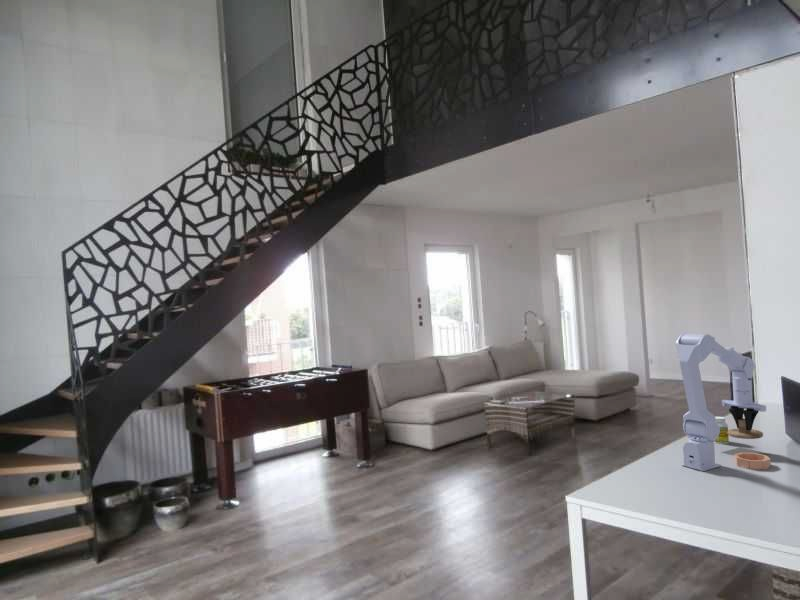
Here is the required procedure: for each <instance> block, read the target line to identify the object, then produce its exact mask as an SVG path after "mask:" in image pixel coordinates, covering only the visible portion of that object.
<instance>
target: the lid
mask: <svg viewBox="0 0 800 600" xmlns="http://www.w3.org/2000/svg"><path fill="white" fill-rule="evenodd" d="M738 424H739V429H738V428H732V429H728V437H729V436H730V437H732V438H735V439H743V440H755V439H760V438H761V439H762V438H763V437H764V433H763V431H761V430H757V429H753V428H752V430H746V423H745V417H744V418H742V419H738Z"/></svg>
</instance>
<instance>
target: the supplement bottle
mask: <svg viewBox="0 0 800 600" xmlns="http://www.w3.org/2000/svg"><path fill="white" fill-rule="evenodd" d="M715 418H716V422H717V423H718V425H719V428H720V433H719V436H718V437H717V439H716V440H714V444H721V445H725V444H726V445H727V444H729V442H730V440H729V435H728V431H729V425H728V423H726V417H724V416H715Z"/></svg>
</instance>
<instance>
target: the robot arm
mask: <svg viewBox="0 0 800 600" xmlns="http://www.w3.org/2000/svg"><path fill="white" fill-rule="evenodd" d="M675 345H676V349H677V351H676V352H677V354H678V359H679V365H680V366H679V367H680V371H681V375H682V381H683V387H684V391H685V397H686V401H687V406H688V411H687V412H686V413H685V414H683V416H682V418H683V419H682V420H683V423H682V429H683V432H684V434H686V438H687V439H688V441H687V442H685V443H684V445H683V448H682V449H683V450H682V451H683V463H681V466H684V467H687V468H691V469H694V470H698V471H700V472H701V471H702V472H705V471H708V470H712V469H715V468H719V467H721V466H722V464H720V463H717V462H716V453H715V452H716V451H715V443H714V440H716V439H717V437H718V436H719V433H720V428H719V425H718V423H717V422H716V418H715V417H716V416H715V415H714V414H713V413H712V412H710V410H708V407H707V403H706V401H707V400H706V397H705V391H704V386H703V382H702V375H701V372H700V370H701V369H700V363H702V362H704V361H705V360H706V359H707V358H708V357H709V356H710V355H711V354H713V355H715V356H717V360H718V361H719V362H720V363H721V364H724V365H725V366H727V369H728V370H729V372H731V373H732V375H731V376H732V392H733V393H732V395H733V400H730V399H722V400H721V406H722V407H730V408H728V412H729V413H730V414H731V415H732V416H731V417H733V420H734V422H735V426H736V429H739V424H738V419H742V418H743V417H744V419H745V423H746V430H752V429H753V425H754V422H755V419H756V417H757V416H758V414H759V412H761V413H762V412H767V405H764V404H760V403H756V402H754V401H753V384H752V383H753V382H752V381H753V377H754V371H755V367H756V364H755V362H754V360H753V359H752V358H751V357H749V356H744V355H742V353H741V352H738V351H736V350H735V349H734V347H732V346H726V347H724V346H723V345H721V344H720V343H719V342H717V341H716V339H715V336H712V335H711V334H708V333H706V334H699V333H698V334H697V333H696V334H694V333H693V334H692V333H681V334H680V335H679V336H678V338H677V340H676V342H675Z"/></svg>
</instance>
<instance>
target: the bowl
mask: <svg viewBox="0 0 800 600" xmlns="http://www.w3.org/2000/svg"><path fill="white" fill-rule="evenodd" d="M733 457H734V458H733V459H734V464H735V465H736V466H737V467H740V468H743V469H746V470H747V469H748V470H755V471H756V470H758V471H759V470H760V471H761V470H768V469H770V468H771V466H772V465H771V458H770V457H769V455H767V456H766V455H762V454H757V453H738V454H734V455H733Z"/></svg>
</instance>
